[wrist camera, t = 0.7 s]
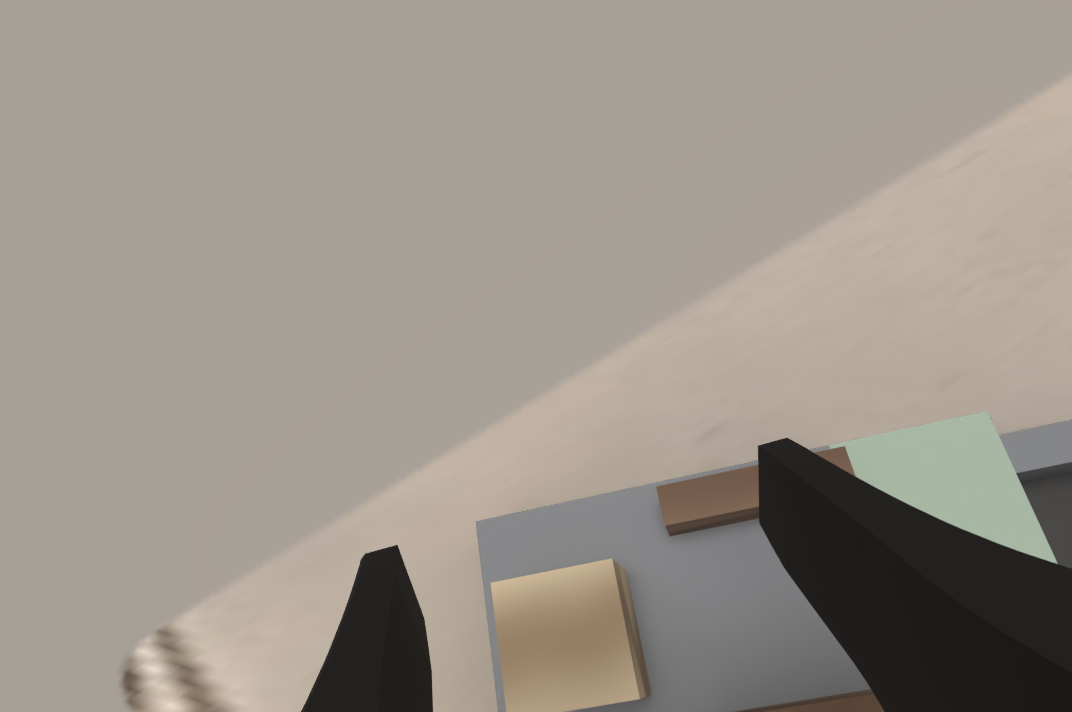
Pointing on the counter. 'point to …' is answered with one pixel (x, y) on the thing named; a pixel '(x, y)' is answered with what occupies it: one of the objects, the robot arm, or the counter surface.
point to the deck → (758, 575)
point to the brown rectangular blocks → (737, 502)
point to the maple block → (569, 639)
